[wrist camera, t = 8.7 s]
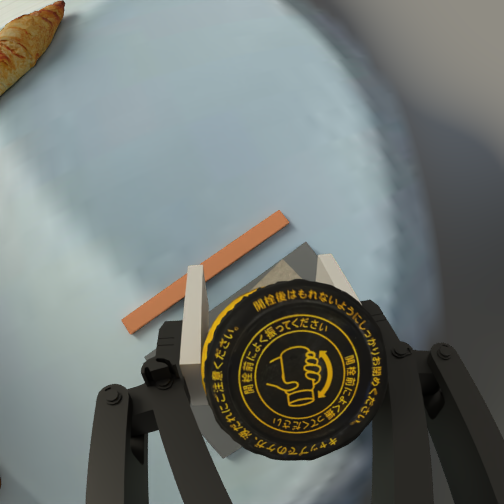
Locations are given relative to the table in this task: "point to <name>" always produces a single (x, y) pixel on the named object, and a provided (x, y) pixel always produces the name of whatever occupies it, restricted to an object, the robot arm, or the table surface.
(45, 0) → the table surface
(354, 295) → the robot arm
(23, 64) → the croissant
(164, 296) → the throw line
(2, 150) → the table surface
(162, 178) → the table surface
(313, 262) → the mat
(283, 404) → the condiment
